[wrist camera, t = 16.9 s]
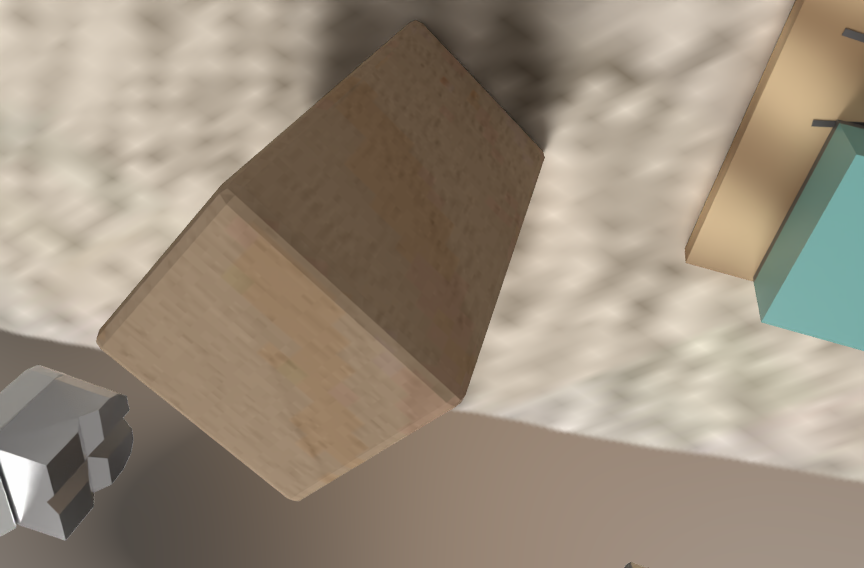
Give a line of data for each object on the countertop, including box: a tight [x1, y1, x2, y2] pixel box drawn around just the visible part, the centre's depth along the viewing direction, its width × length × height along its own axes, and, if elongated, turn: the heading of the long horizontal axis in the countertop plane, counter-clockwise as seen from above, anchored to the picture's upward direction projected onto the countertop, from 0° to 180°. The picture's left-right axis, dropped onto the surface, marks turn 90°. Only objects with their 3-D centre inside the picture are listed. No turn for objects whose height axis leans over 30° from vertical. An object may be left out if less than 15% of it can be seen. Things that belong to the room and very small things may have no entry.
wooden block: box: [96, 20, 545, 501], centre depth 32 cm, size 10×10×20 cm
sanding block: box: [753, 119, 864, 351], centre depth 33 cm, size 9×5×4 cm, turn 173°
